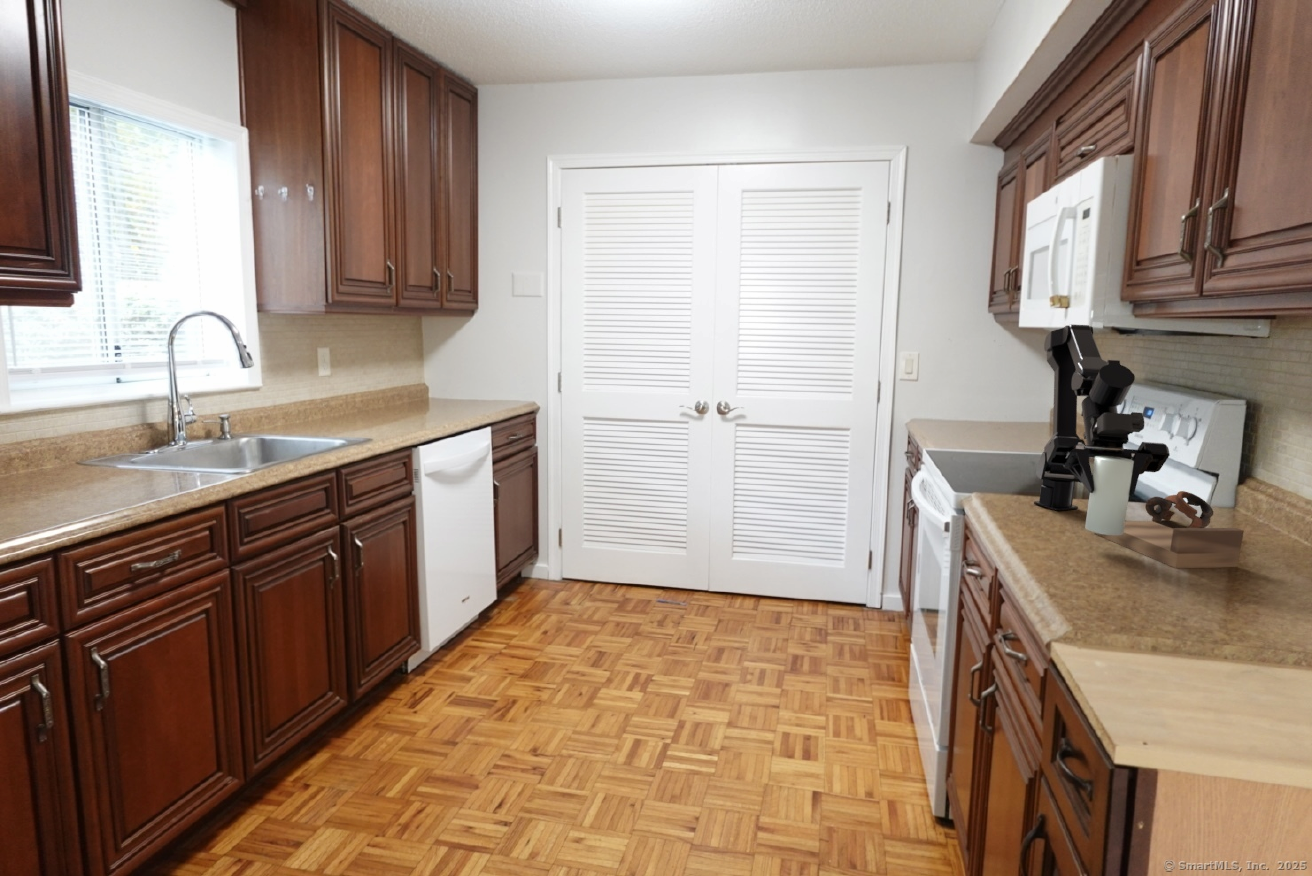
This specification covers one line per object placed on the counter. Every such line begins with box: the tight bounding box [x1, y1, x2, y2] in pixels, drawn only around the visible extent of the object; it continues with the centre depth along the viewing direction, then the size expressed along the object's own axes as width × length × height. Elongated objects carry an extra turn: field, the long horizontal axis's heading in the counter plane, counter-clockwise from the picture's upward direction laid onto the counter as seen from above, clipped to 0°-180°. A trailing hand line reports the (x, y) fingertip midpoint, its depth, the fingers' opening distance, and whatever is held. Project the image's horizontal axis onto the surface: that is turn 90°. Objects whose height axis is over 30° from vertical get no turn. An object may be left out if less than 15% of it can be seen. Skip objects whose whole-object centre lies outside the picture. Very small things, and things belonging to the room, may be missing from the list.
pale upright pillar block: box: [1084, 456, 1134, 535], centre depth 141 cm, size 6×6×13 cm
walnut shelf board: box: [1093, 520, 1245, 569], centre depth 144 cm, size 20×12×6 cm, turn 8°
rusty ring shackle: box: [1145, 490, 1214, 528], centre depth 161 cm, size 12×10×8 cm
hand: (1111, 493), depth 139 cm, fingers closed on pale upright pillar block, 6 cm apart
